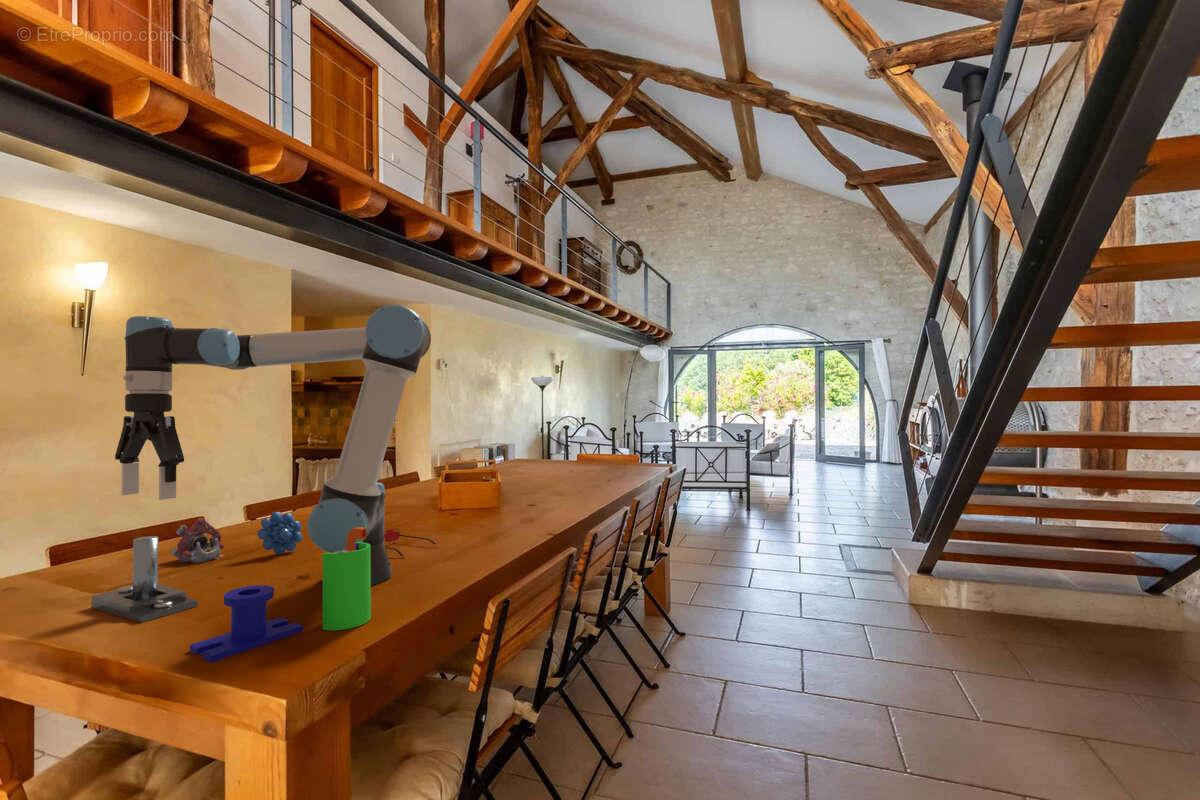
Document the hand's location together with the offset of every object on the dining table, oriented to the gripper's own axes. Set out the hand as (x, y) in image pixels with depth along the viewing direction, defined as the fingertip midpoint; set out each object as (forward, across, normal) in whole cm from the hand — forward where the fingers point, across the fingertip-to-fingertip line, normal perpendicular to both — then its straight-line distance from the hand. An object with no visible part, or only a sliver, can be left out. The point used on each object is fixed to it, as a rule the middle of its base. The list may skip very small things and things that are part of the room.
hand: (148, 496), depth 115 cm
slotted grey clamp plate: (+22, 0, 0) cm, 23 cm away
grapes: (+23, -13, +39) cm, 47 cm away
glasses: (+24, +11, +58) cm, 64 cm away
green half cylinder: (+23, +43, +13) cm, 50 cm away
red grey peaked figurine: (+23, -29, +26) cm, 45 cm away
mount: (+23, +34, -2) cm, 42 cm away
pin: (+22, 0, 0) cm, 23 cm away
